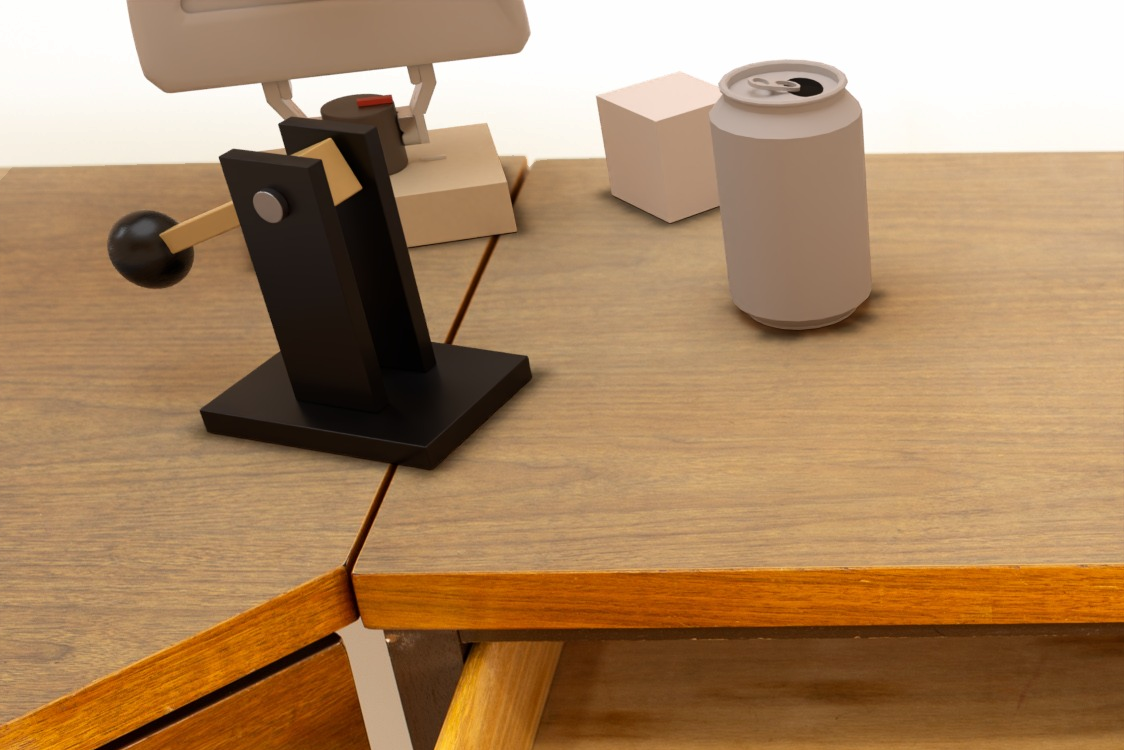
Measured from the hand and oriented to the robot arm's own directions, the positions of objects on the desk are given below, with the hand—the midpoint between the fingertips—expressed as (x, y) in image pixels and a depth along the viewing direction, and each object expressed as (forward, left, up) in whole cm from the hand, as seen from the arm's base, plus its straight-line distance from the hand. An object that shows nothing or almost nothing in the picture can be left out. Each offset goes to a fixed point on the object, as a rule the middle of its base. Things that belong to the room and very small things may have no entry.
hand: (368, 147), depth 90 cm
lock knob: (0, 0, -1) cm, 1 cm away
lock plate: (0, 0, -4) cm, 4 cm away
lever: (-6, -20, +3) cm, 21 cm away
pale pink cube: (+17, -3, -4) cm, 18 cm away
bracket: (-2, -23, -4) cm, 23 cm away
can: (+20, -20, -4) cm, 29 cm away
